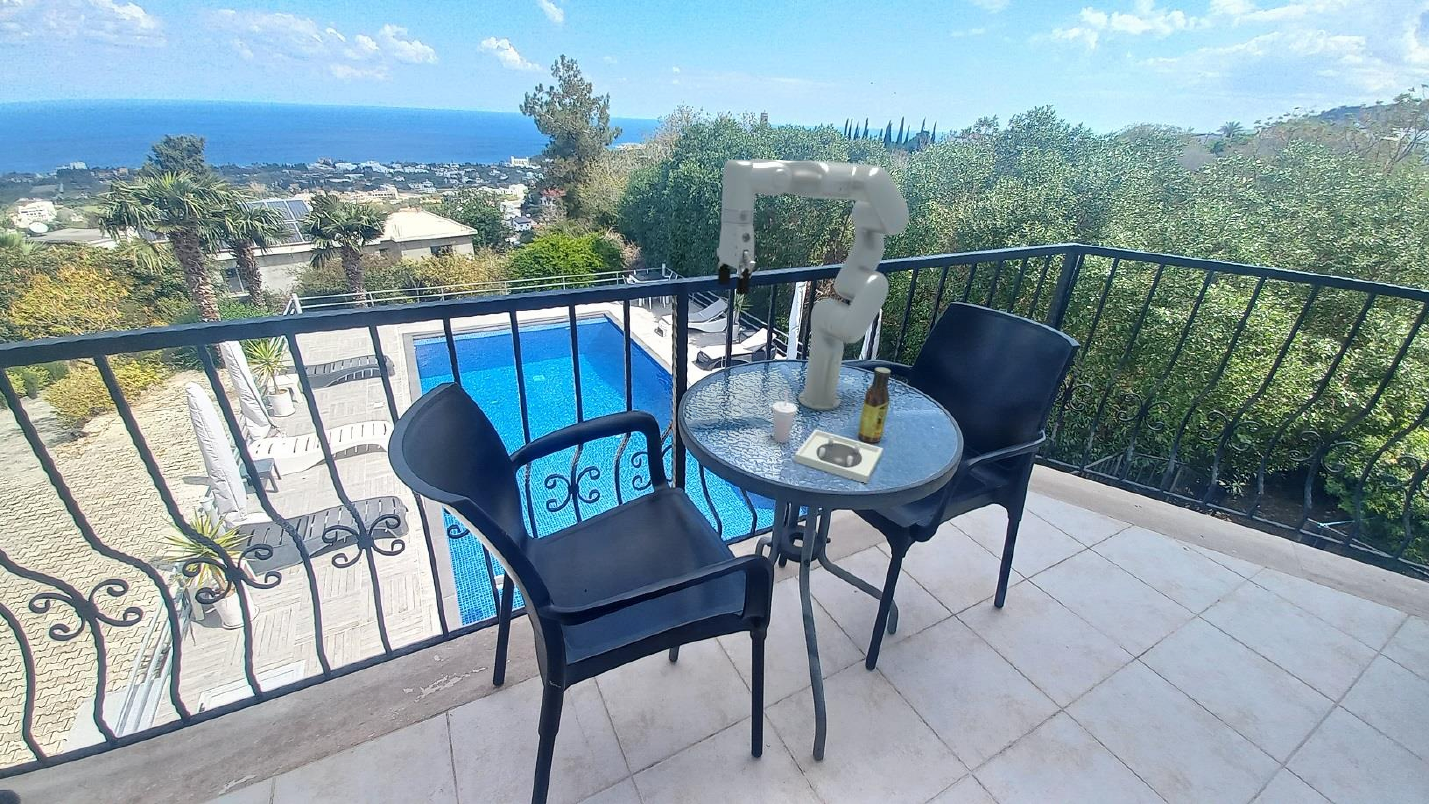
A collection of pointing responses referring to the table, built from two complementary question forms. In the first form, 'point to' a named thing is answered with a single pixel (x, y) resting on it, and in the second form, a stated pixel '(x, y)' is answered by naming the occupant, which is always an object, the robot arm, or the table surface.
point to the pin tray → (839, 455)
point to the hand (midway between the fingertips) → (732, 289)
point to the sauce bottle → (875, 407)
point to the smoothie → (783, 419)
